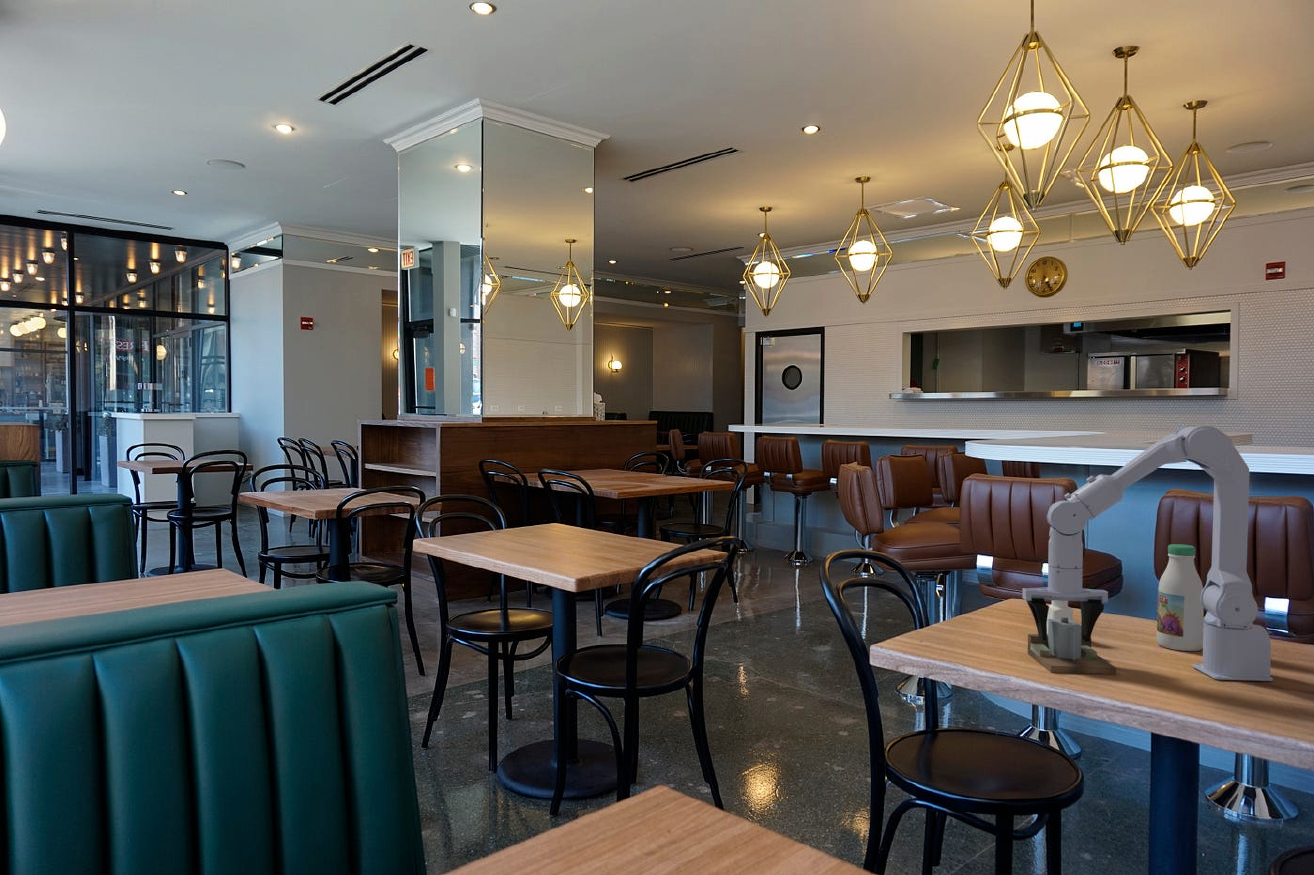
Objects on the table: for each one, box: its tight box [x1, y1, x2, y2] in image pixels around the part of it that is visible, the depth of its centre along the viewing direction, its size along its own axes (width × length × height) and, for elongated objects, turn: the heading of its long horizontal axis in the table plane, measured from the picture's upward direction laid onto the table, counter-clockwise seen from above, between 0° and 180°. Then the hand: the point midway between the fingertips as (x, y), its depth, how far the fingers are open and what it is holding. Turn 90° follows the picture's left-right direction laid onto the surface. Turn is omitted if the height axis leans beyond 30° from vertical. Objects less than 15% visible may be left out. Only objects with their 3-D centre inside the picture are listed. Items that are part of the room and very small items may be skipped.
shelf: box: [1027, 633, 1117, 675], centre depth 157 cm, size 11×12×4 cm
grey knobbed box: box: [1048, 617, 1081, 660], centre depth 157 cm, size 4×7×7 cm, turn 175°
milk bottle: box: [1156, 543, 1205, 652], centre depth 168 cm, size 8×8×20 cm
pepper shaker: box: [1047, 600, 1074, 635], centre depth 175 cm, size 4×4×10 cm
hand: (1064, 639), depth 158 cm, fingers open, 7 cm apart
